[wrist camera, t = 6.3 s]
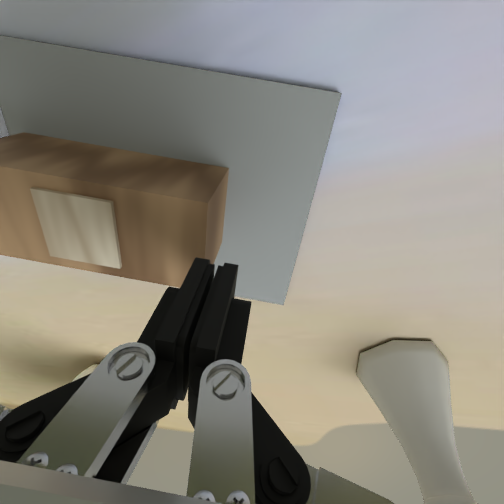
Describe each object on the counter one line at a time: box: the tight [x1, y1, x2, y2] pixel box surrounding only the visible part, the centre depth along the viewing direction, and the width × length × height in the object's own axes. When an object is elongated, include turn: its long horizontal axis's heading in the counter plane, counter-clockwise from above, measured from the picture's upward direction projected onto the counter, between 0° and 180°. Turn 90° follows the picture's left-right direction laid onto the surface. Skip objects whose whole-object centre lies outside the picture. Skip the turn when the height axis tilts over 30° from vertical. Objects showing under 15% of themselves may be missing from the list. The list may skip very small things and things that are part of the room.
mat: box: [0, 35, 341, 305], centre depth 18 cm, size 18×14×1 cm
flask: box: [356, 340, 478, 504], centre depth 20 cm, size 7×7×10 cm
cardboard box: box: [0, 132, 229, 287], centre depth 16 cm, size 5×5×12 cm
